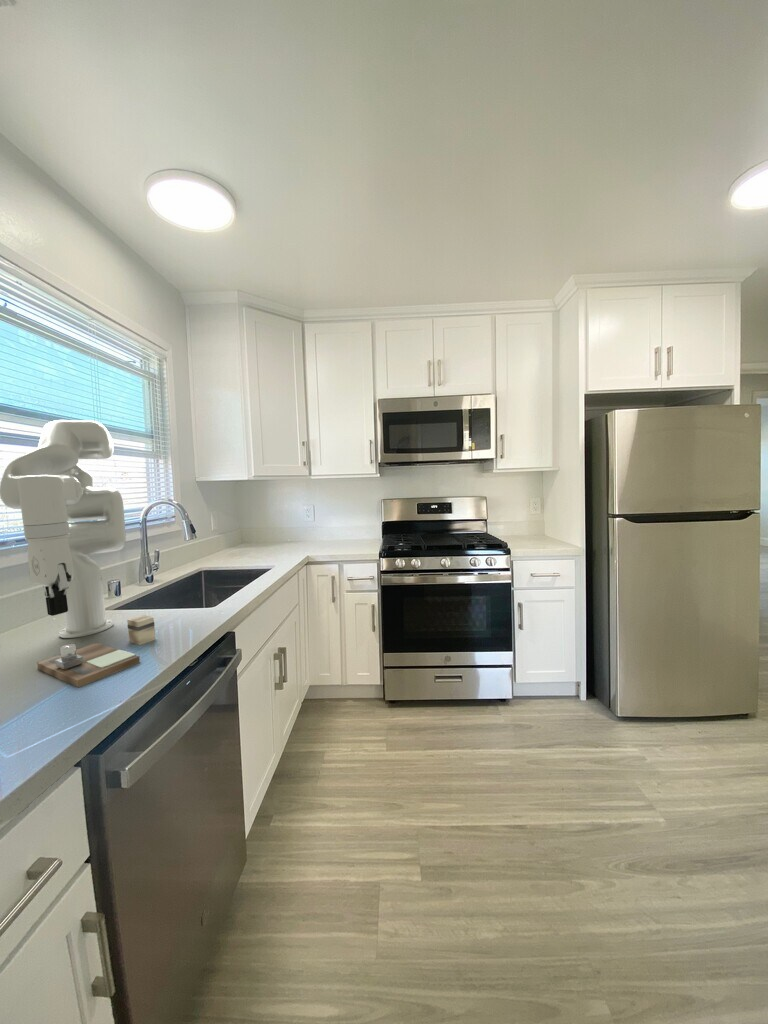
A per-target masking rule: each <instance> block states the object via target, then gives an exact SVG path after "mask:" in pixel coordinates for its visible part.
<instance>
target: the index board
mask: <svg viewBox="0 0 768 1024" xmlns="http://www.w3.org/2000/svg"><path fill="white" fill-rule="evenodd" d="M117 650H119V649H118V648H114V647H111V646H107V645H106V644H105V645H104V644H102V643H98V642H95V643H92V644H89V645H86V646H83V647H80V648H77V649H76V654H78V655H80V656H83V661H84V663H81V664H79V665H76V666H73V667H70V668H67V669H65V670H64V669H61V668H59V667H57V666H56V662H55V660H57V659H60V658H61V654H59V655H56V656H53V657H49V658H47V659H44V660H41V661H38V662H36V666H37V669H38V670H39V671H41V672H43V673H45V674H48V675H50V676H52V677H55V678H56V679H59V680H61V681H63V682H65V683H68V684H69V685H71V686H74V687H77V688H81V687H83V686H86V685H88V684H91V683H93V682H95V681H98V680H100V679H103V678H105V677H108V676H110V675H114V674H115V673H118V672H120V671H123V670H125V669H128V668H130V667H133V666H135V665H138V664H140V663H141V660H140V656H139V655H137V654H136V655H135V656H132V657H130V658H127V659H125V660H122V661H119V662H117V663H114V664H112V665H109V666H106V667H104V668H99V667H97V666H94V665H91V664H89V663H86V661H89V660H92V659H95V658H98V657H100V656H103V655H106V654H109V653H111V652H114V651H117Z"/></svg>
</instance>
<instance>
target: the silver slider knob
mask: <svg viewBox="0 0 768 1024" xmlns="http://www.w3.org/2000/svg"><path fill="white" fill-rule="evenodd" d="M76 648H77V647H76V643H68V644H65V645H62V646H60V647H59V650H60V655H61V658H60V659H57V660H55V662H56V666H57V667H59V668H61V669H64V670H65V669H67V668H70V667H73V666H76V665H79V664H81V663H84V661H83V656H80V655H78V654H76V650H77V649H76Z"/></svg>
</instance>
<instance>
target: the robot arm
mask: <svg viewBox="0 0 768 1024" xmlns="http://www.w3.org/2000/svg"><path fill="white" fill-rule="evenodd" d="M114 447H115V446H114V441H113V438H112V436H111V434H110V432H109V431H108V429H107V428H106V427H105V426H104V425H103V424H102V423H100V422H98V421H96V420H95V421H94V420H75V419H74V420H73V419H72V420H68V419H58V420H57V419H56V420H53V421H50V422H48V423H46V424H45V425H44V426H43V428H42V431H41V434H40V439H39V442H38V445H37V448H36V449H34V450H31V451H29V452H27V453H25V454H23V455H21V456H19V457H17V458H15V459H13V460H12V461H11V462H9V464H7V466H6V467H5V470H4V471H3V475H2V478H1V481H0V499H1V501H2V503H3V504H4V505H5V506H7V507H8V508H11V509H14V510H20V511H21V516H22V517H21V519H22V524H23V533H24V541H25V542H27V558H28V561H27V562H28V573H29V580H30V582H31V583H33V584H35V585H40V586H42V588H43V593H44V596H45V603H46V604H45V606H46V611H47V615H49V616H51V617H53V616H57V615H61V614H63V617H64V623H65V624H64V626H65V627H64V628H62V629H61V630H59V632H58V634H59V635H58V636H59V637H60V638H63V639H74V638H80V637H86V636H90V635H95V634H99V633H101V632H103V631H105V630H108V629H110V628H111V627H113V626H114V621H113V619H111V618H110V619H108V618H107V616H106V605H105V597H104V589H103V581H102V580H103V579H102V571H101V568H100V565H99V564H98V563H97V562H96V561H95V560H94V559H92V558H91V557H89V555H95V554H102V553H103V554H104V553H112V552H117V551H120V550H123V548H125V546H126V541H127V537H126V536H127V534H126V523H125V522H126V521H125V511H124V510H125V509H124V508H125V507H124V502H123V501H124V500H123V497H122V495H121V492H120V491H119V490H117V489H116V488H113V487H94V485H93V484H94V483H93V476H92V474H91V473H90V472H89V470H87V469H86V468H85V467H84V466H82V465H80V464H79V460H102V459H103V460H104V459H105V460H106V459H109V458H111V457H112V456H113V454H114ZM93 487H94V488H93Z"/></svg>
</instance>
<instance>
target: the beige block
mask: <svg viewBox="0 0 768 1024" xmlns="http://www.w3.org/2000/svg"><path fill="white" fill-rule="evenodd" d="M154 618H155V617H154V616H149V615H144V614H142V615H138V616H134V617H133V618H129V619H126V621H127V630H128V631H127V632H128V638H129V639H128V640H129V643H132V644H135V645H139V646H142V645H144V644H147V643H150V642H152V641H155V640H156V629H155V626H156V625H155V621H154Z"/></svg>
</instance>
